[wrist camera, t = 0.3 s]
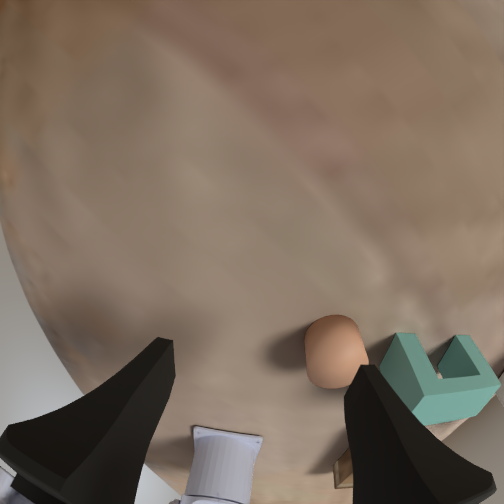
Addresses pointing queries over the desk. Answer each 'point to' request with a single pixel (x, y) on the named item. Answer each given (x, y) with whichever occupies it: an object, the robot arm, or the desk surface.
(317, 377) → the bead
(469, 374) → the teal angular block
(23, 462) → the robot arm
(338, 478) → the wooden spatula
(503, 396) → the photo printer
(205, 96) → the desk surface
